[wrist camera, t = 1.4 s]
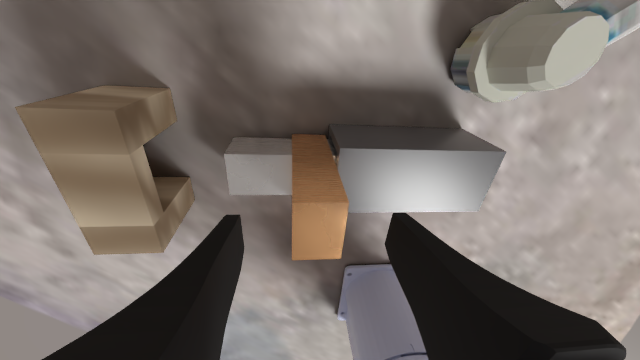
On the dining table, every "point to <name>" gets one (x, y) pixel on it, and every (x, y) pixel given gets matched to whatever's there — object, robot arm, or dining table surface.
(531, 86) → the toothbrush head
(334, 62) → the dining table surface
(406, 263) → the robot arm
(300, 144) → the brown and grey block
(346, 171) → the sleeve
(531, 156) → the dining table surface
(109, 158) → the socket block
